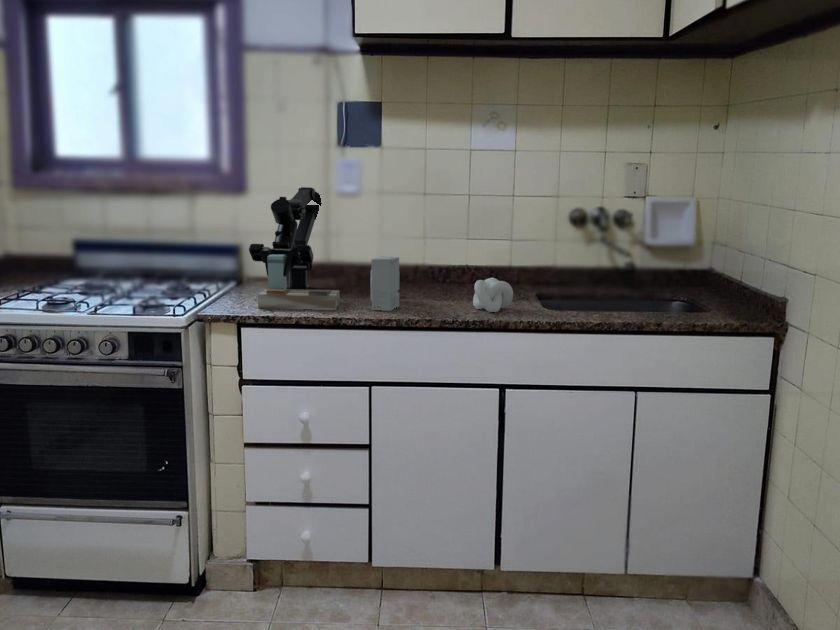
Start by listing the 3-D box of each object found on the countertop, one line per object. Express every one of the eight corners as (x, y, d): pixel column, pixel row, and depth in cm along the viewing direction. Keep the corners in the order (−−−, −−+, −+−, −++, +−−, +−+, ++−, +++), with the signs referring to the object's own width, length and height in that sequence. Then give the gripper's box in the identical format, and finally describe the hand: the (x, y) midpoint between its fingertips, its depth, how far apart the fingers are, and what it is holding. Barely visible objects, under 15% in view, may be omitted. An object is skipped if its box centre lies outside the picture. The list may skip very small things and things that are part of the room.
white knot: (510, 306, 226) (511, 276, 224) (514, 314, 214) (516, 283, 213) (472, 305, 226) (473, 276, 224) (474, 314, 214) (475, 282, 213)
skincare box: (390, 312, 215) (390, 259, 212) (370, 310, 217) (370, 258, 214) (400, 306, 223) (400, 256, 220) (380, 305, 225) (380, 255, 222)
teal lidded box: (271, 295, 232) (270, 254, 229) (287, 295, 232) (286, 254, 229) (268, 298, 227) (267, 256, 224) (284, 298, 227) (282, 256, 224)
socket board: (265, 301, 227) (265, 284, 226) (339, 303, 226) (339, 286, 225) (258, 308, 217) (257, 290, 216) (335, 310, 216) (335, 292, 215)
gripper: (320, 251, 241) (311, 292, 232) (262, 250, 243) (252, 290, 234) (313, 229, 231) (304, 270, 223) (253, 227, 233) (242, 268, 225)
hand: (276, 275), depth 227 cm, fingers closed on teal lidded box, 5 cm apart
